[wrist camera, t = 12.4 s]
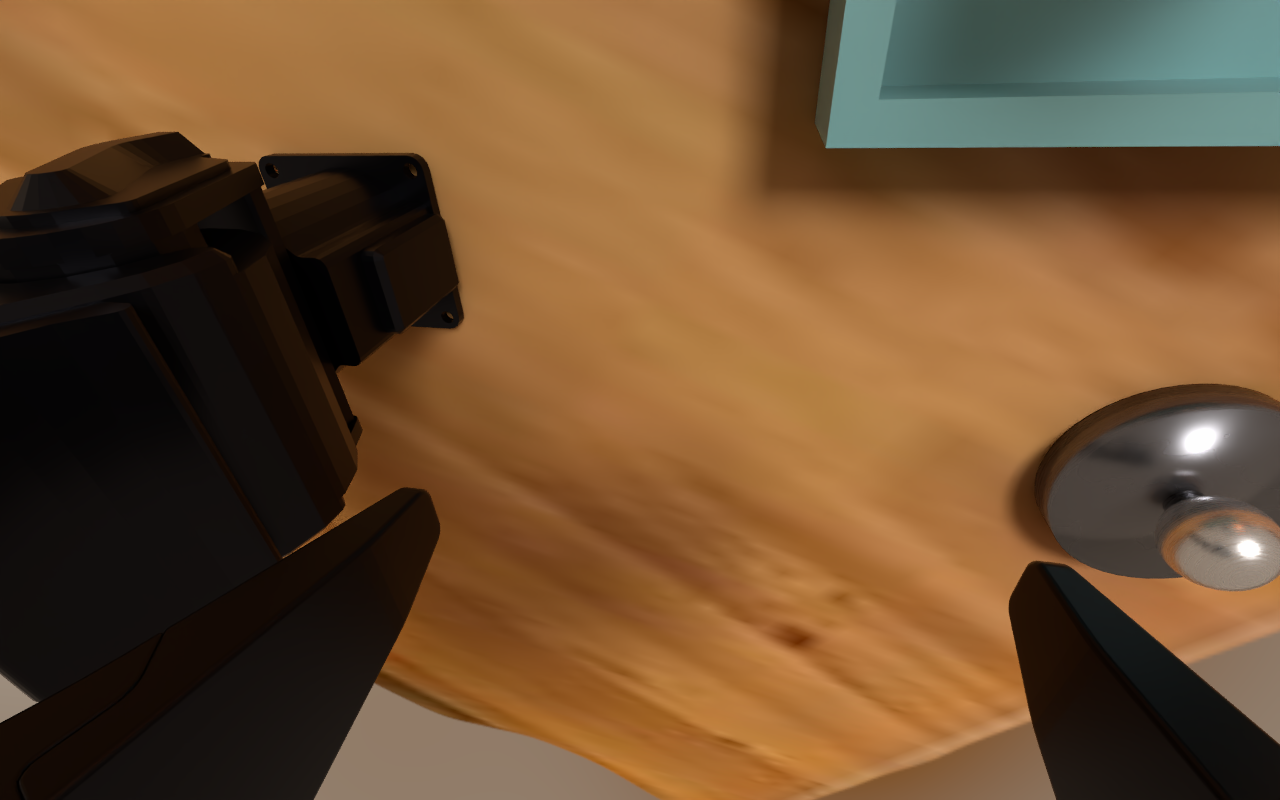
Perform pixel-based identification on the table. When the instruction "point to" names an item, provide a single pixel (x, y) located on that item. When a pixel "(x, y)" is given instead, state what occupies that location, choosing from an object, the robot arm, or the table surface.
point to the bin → (1050, 73)
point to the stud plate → (1171, 487)
